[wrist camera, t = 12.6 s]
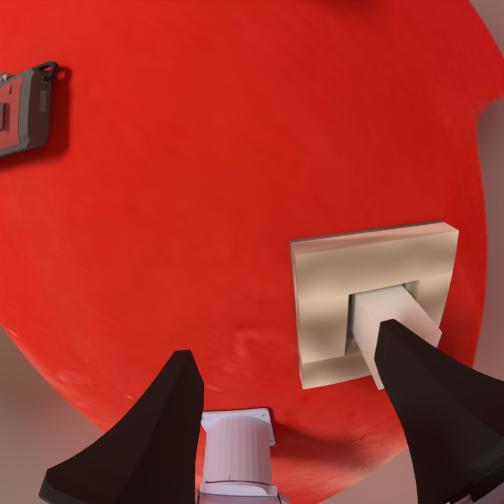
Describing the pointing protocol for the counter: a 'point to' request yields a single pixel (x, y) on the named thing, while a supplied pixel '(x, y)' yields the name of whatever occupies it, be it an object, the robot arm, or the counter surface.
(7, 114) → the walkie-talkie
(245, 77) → the counter surface
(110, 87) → the counter surface
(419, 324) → the white rectangular block
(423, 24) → the counter surface
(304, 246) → the holder block
